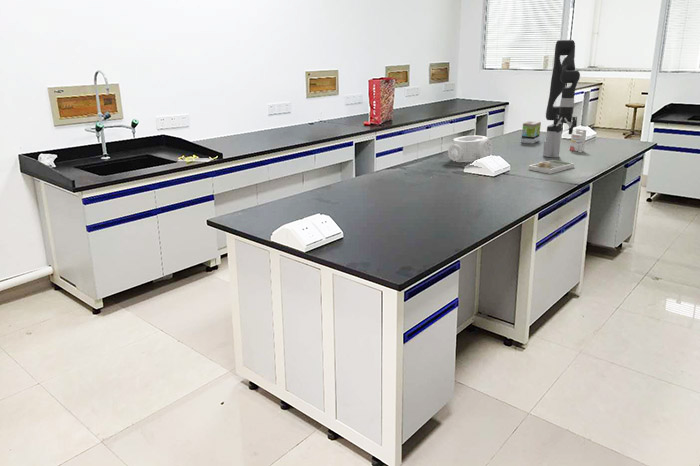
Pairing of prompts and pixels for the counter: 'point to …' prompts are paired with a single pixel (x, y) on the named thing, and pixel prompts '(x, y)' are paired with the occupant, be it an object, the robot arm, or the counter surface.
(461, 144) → the housing
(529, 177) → the counter surface
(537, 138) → the tea box
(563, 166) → the divider frame
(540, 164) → the beech letter block
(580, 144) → the ink cartridge box
